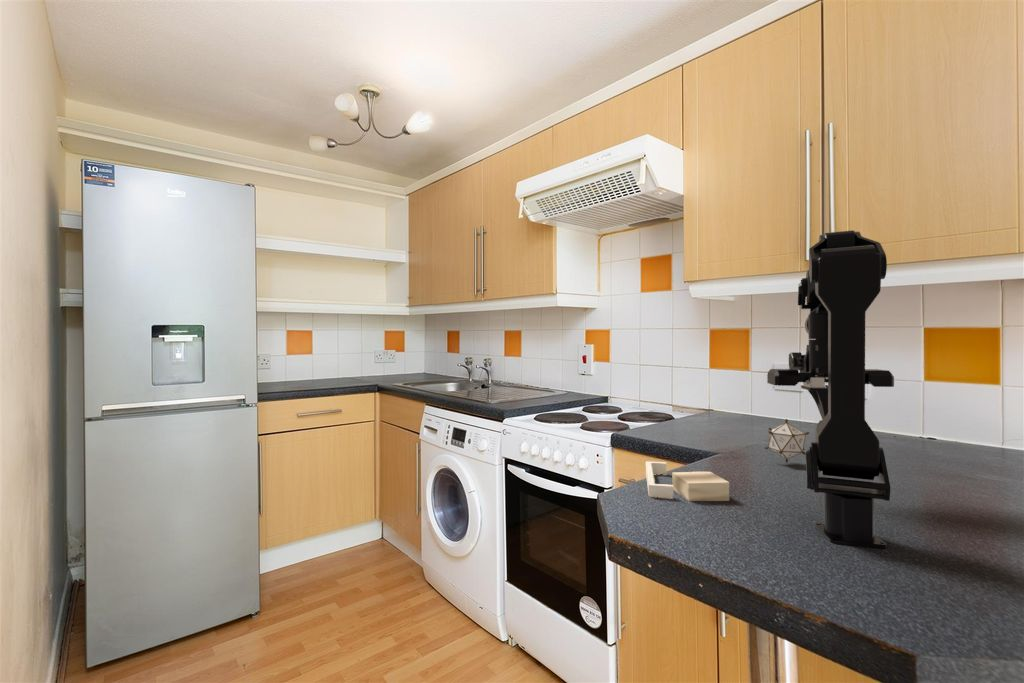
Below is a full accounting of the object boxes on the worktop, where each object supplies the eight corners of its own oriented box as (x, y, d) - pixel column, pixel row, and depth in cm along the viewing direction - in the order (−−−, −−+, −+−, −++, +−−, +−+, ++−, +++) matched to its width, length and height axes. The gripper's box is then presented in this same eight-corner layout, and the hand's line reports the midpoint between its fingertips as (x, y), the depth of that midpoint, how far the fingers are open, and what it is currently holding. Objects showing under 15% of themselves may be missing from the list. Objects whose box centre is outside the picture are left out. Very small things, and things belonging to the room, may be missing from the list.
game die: (764, 465, 107) (763, 419, 107) (764, 457, 115) (764, 414, 115) (811, 469, 103) (811, 422, 103) (808, 461, 111) (808, 417, 111)
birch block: (729, 506, 82) (729, 482, 82) (688, 507, 81) (688, 483, 81) (710, 493, 89) (709, 471, 89) (672, 494, 88) (672, 472, 88)
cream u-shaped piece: (673, 504, 82) (673, 486, 82) (648, 502, 83) (648, 485, 83) (666, 477, 99) (666, 462, 99) (645, 476, 99) (645, 461, 99)
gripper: (864, 339, 94) (865, 419, 94) (759, 340, 99) (760, 417, 99) (895, 338, 83) (896, 429, 83) (775, 339, 88) (776, 426, 88)
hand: (827, 425), depth 89 cm, fingers closed
